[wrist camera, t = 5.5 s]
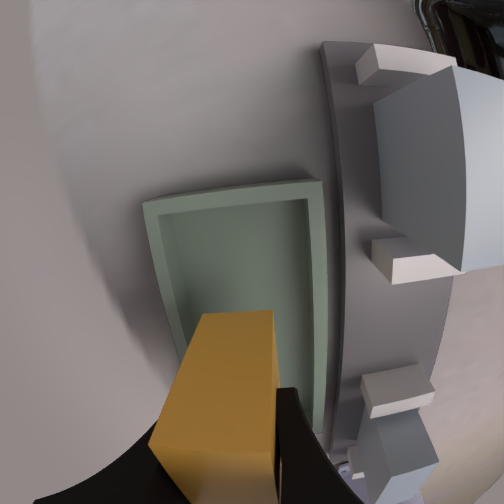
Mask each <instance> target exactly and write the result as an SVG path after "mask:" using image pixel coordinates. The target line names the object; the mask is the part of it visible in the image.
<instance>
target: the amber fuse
mask: <svg viewBox="0 0 504 504" xmlns="http://www.w3.org/2000/svg"><path fill="white" fill-rule="evenodd" d="M277 388H280V382H279V370H278V359H277V349H276V338H275V327H274V317H273V309H272V310H259V311H244V312H228V313H208V314H202V316H201V319H200V321H199V323H198V326H197V328H196V330H195V333H194V335H193V337H192V340H191V342H190V344H189V347H188V349H187V351H186V354H185V356H184V358H183V361H182V363H181V365H180V368H179V370H178V373H177V375H176V377H175V380H174V382H173V385H172V387H171V389H170V392H169V394H168V397H167V399H166V401H165V404H164V406H163V409H162V411H161V414H160V416H159V419H158V421H157V423H156V426H155V428H154V431H153V433H152V436H151V438H150V441H149V443H148V445H149V447H150V448H151V450H152V452H153V453H154V455H155V456H156V457H157V459H158V460H159V462H160V463H161V465H162V466H163V468H164V469H165V470H166V472H167V473H168V474H169V476H170V477H171V479H172V480H173V481H174V483H175V484H176V485H177V486H178V488H179V489H180V490H181V492H182V493H183V494H184V495H185V497H186V498H187V499H188V500H189V501H190V503H191V504H280V503H281V466H282V465H281V456H280V447H279V437H278V428H277V418H276V390H277Z"/></svg>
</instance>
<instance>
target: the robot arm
mask: <svg viewBox="0 0 504 504" xmlns="http://www.w3.org/2000/svg"><path fill="white" fill-rule="evenodd" d="M276 418H277V428H278V437H279V447H280V456H281V465H282V466H281V503H280V504H370V502H369V497H368V492H367V486H366V481H365V477H363V478H358V479H353V480H352V479H351V473H350V468H349V463H345V464H341V465H340V466H339V467H338V471H337V470H336V469H335V467H334V466H333V465H332V463H331V462H330V460H329V459H328V457H327V455H326V454H325V452H324V451H323V449H322V447H321V446H320V444H319V442H318V440H317V438H316V436H315V434H314V433H313V431H312V429H311V427H310V425H309V422H308V420H307V418H306V416H305V413H304V411H303V408H302V405H301V402H300V399H299V395H298V390H297V389H296V388H295V387H287V388H277V390H276ZM157 421H158V420H157ZM157 421H156V422H155V423H154V424H153V425H152V426H151V428H150V429H149V430H148V431H147V432H146V433H145V434H144V435H143V436H142V437H141V438H140V439H139V440H138V441H137V442H136V443H135V444H134V445H133V446H132V447H131V448H130V449H128V450H127V451H126V452H125V453H124V454H122V455H121V456H120V457H119V458H118V459H116V460H115V461H114V462H113V463H111V464H110V465H108V466H107V467H105V468H104V469H102V470H101V471H99V472H98V473H96V474H95V475H93V476H92V477H90V478H88V479H87V480H84V481H83V482H81V483H79V484H77V485H75V486H73V487H71V488H68V489H66V490H64V491H61V492H59V493H56V494H53V495H50V496H47V497H44V498H40V499H37V500H35V501H34V502H33V504H191V503H190V501H189V500H188V499H187V498H186V497H185V495H184V494H183V493H182V492H181V490H180V489H179V488H178V486H177V485H176V484H175V483H174V481H173V480H172V479H171V477H170V476H169V474H168V473H167V472H166V470H165V469H164V468H163V466H162V465H161V463H160V462H159V460H158V459H157V457H156V456H155V455H154V453H153V452H152V450H151V448H150V447H149V445H148V443H149V441H150V438H151V436H152V433H153V431H154V428H155V426H156V423H157ZM395 504H424V501H423V498H422V495H421V491H420V488H419V490H418V491H417V492H416V493H415V495H414V496H413V497H412V498H411V499H409V500H406V501H402V502H399V503H395Z"/></svg>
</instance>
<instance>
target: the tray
mask: <svg viewBox="0 0 504 504" xmlns="http://www.w3.org/2000/svg"><path fill="white" fill-rule="evenodd" d="M142 208H143V214H144V219H145V225H146V230H147V235H148V240H149V245H150V249H151V254H152V259H153V263H154V268H155V272H156V276H157V280H158V285H159V289H160V293H161V297H162V300H163V304H164V308H165V312H166V315H167V319H168V323H169V326H170V330H171V333H172V337H173V340H174V343H175V347H176V350H177V353H178V356H179V360H180V363H182V361H183V358H184V356H185V354H186V351H187V349H188V347H189V344H190V342H191V340H192V337H193V335H194V333H195V330H196V328H197V326H198V323H199V321H200V319H201V316H202V314H208V313H228V312H244V311H259V310H272V309H273V317H274V327H275V338H276V349H277V359H278V370H279V382H280V388H287V387H295V388H296V389H297V390H298V395H299V399H300V402H301V405H302V408H303V411H304V413H305V416H306V418H307V420H308V422H309V425H310V427H311V429H312V431H313V433H314V434H315V433H323V421H324V407H325V391H326V371H327V337H328V284H327V249H326V228H325V211H324V197H323V184H322V181H321V180H318V179H316V178H307V179H294V180H283V181H273V182H263V183H253V184H244V185H236V186H228V187H220V188H212V189H205V190H198V191H191V192H184V193H178V194H171V195H165V196H159V197H157V198H154V199H151V200H148V201H145V202H143V203H142Z"/></svg>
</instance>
